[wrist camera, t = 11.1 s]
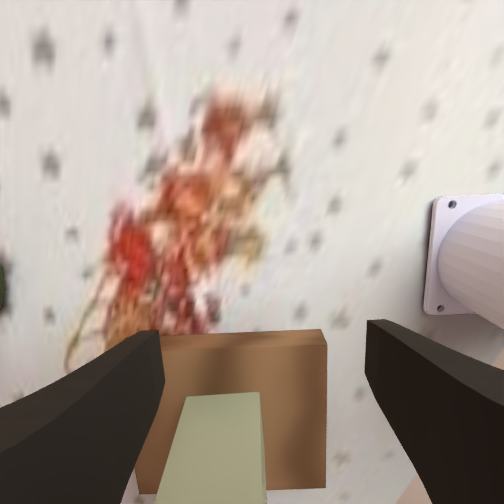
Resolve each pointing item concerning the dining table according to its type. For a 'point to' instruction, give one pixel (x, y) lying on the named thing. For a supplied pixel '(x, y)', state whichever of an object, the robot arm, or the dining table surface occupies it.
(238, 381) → the walnut base
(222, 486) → the sage block
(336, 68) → the dining table surface
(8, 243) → the dining table surface
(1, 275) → the beige green trophy cup
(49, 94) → the dining table surface
